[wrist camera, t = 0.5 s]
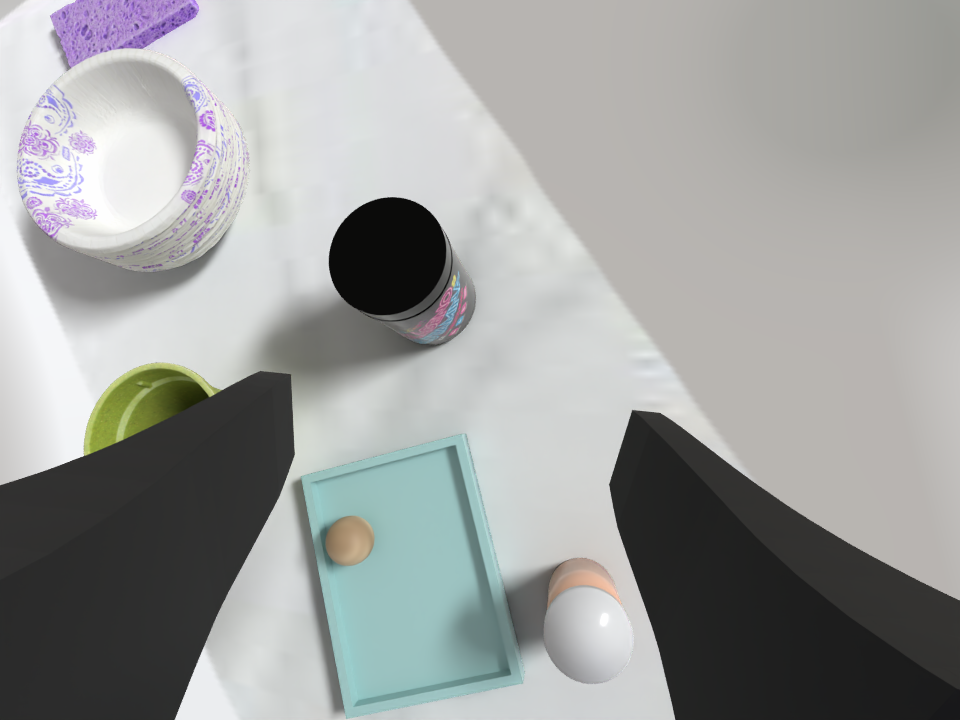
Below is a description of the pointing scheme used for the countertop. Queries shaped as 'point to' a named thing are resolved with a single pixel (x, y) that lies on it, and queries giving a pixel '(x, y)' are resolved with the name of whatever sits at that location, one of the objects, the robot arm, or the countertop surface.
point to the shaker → (586, 623)
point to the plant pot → (143, 402)
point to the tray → (413, 580)
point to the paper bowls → (133, 161)
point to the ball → (350, 540)
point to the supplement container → (402, 271)
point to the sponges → (117, 24)
